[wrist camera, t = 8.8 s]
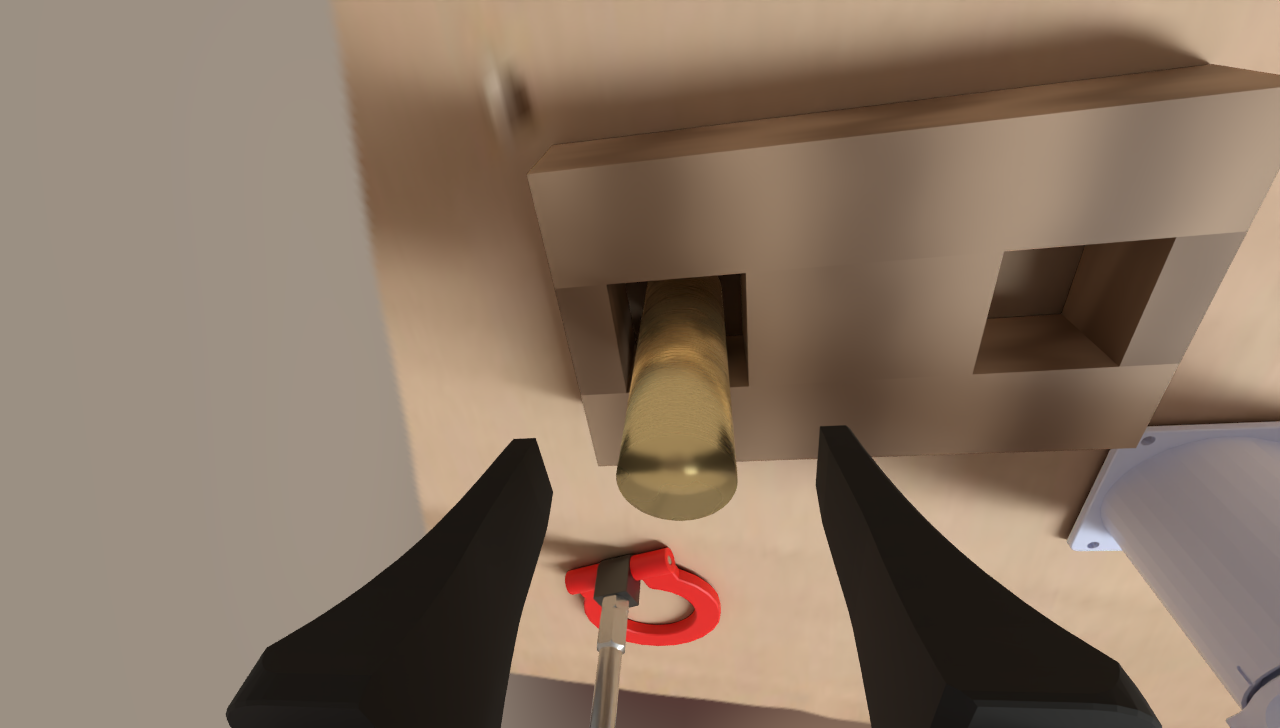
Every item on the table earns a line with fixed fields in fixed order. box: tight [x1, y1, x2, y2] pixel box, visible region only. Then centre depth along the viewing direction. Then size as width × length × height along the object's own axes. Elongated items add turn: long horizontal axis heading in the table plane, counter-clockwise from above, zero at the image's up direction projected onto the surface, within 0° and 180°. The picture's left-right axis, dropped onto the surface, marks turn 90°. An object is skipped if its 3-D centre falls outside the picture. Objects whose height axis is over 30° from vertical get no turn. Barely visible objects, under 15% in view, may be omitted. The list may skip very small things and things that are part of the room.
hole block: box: [527, 64, 1280, 466], centre depth 19 cm, size 20×12×4 cm, turn 98°
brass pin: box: [616, 275, 737, 521], centre depth 18 cm, size 3×3×10 cm
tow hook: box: [565, 548, 721, 728], centre depth 29 cm, size 8×13×9 cm
